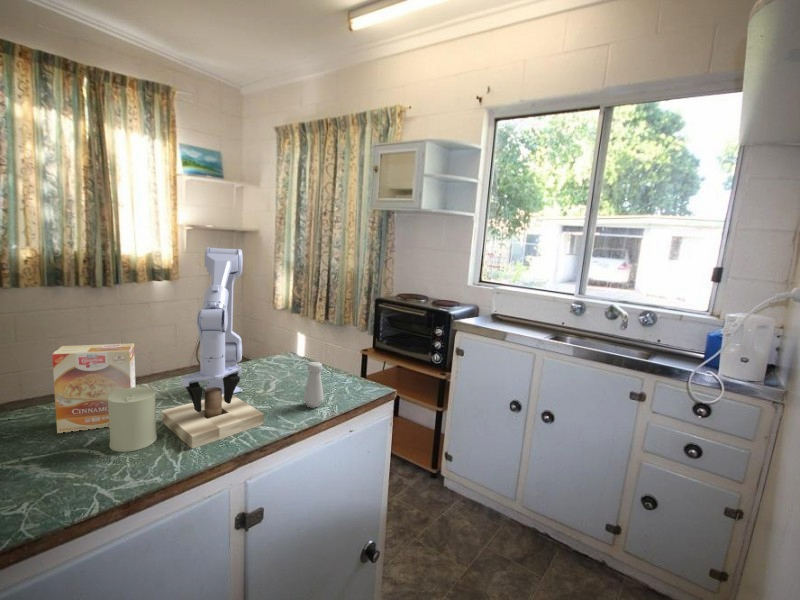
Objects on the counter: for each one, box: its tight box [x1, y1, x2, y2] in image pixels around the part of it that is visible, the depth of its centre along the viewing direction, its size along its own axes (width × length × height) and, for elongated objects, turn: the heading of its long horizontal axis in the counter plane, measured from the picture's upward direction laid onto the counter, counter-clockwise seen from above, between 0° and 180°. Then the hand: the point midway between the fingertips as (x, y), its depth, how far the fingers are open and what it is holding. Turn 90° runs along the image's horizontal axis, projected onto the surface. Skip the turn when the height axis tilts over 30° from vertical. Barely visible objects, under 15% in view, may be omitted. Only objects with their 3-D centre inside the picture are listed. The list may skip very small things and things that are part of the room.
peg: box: [203, 387, 222, 419], centre depth 103 cm, size 4×4×9 cm
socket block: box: [160, 394, 265, 450], centre depth 104 cm, size 18×18×3 cm
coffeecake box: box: [52, 342, 136, 434], centre depth 99 cm, size 15×7×20 cm, turn 115°
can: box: [107, 386, 158, 453], centre depth 92 cm, size 9×9×12 cm
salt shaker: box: [303, 361, 324, 409], centre depth 118 cm, size 6×6×13 cm
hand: (213, 406), depth 103 cm, fingers open, 7 cm apart
